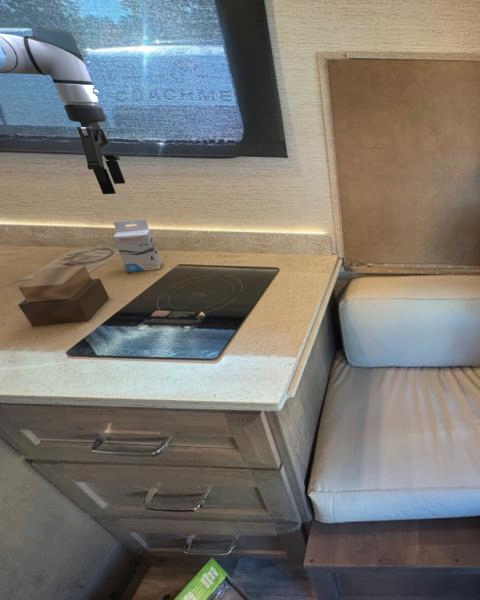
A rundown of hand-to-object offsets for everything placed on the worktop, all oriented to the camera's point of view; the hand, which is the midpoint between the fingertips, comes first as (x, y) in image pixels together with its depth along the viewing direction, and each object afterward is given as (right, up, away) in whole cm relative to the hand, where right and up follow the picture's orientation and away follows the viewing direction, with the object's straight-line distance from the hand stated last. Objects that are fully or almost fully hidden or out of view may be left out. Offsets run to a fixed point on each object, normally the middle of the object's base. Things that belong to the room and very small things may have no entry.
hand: (115, 188), depth 97 cm
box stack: (+2, -36, -14) cm, 38 cm away
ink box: (+3, -23, +8) cm, 24 cm away
